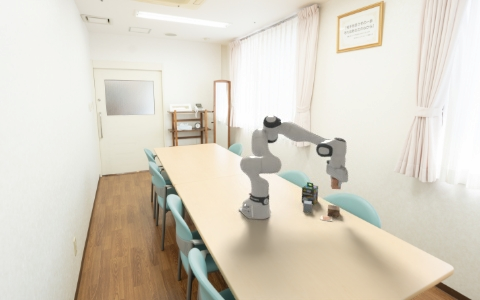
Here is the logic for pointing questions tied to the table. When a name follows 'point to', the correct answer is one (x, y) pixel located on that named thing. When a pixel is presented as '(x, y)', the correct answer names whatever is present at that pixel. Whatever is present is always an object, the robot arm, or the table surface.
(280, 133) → the robot arm
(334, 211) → the walnut base
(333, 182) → the terracotta block
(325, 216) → the swatch
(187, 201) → the table surface
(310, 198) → the dark product box
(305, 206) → the slate block
